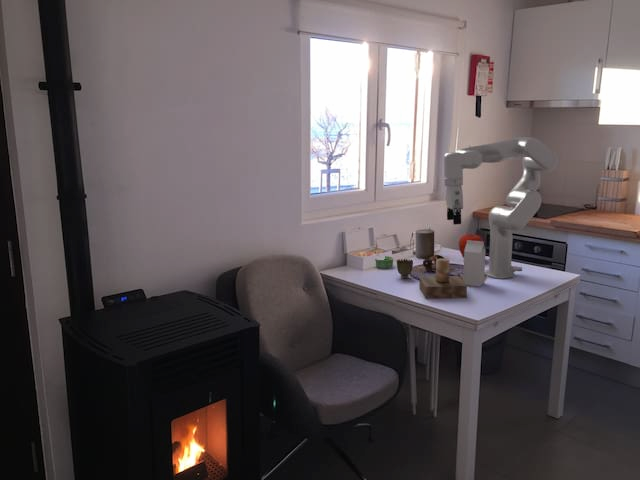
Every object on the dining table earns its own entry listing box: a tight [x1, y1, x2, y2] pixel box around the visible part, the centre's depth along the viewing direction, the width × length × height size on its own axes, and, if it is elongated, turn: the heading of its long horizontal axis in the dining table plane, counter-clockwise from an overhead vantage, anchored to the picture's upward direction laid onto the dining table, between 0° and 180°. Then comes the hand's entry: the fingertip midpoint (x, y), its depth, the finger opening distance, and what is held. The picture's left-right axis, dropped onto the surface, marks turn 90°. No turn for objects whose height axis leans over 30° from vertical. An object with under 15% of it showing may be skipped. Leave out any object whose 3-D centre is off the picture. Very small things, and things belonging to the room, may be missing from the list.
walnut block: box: [418, 275, 468, 300], centre depth 223 cm, size 16×14×5 cm
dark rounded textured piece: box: [396, 258, 414, 280], centre depth 245 cm, size 8×7×8 cm
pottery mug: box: [422, 254, 446, 270], centre depth 256 cm, size 12×10×8 cm
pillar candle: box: [415, 228, 435, 260], centre depth 280 cm, size 10×10×15 cm
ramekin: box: [374, 255, 394, 270], centre depth 265 cm, size 9×9×4 cm
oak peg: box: [435, 258, 450, 283], centre depth 222 cm, size 5×5×14 cm
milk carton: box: [462, 240, 486, 288], centre depth 232 cm, size 7×7×19 cm
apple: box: [458, 233, 484, 259], centre depth 269 cm, size 12×12×14 cm
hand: (454, 221), depth 231 cm, fingers open, 9 cm apart
